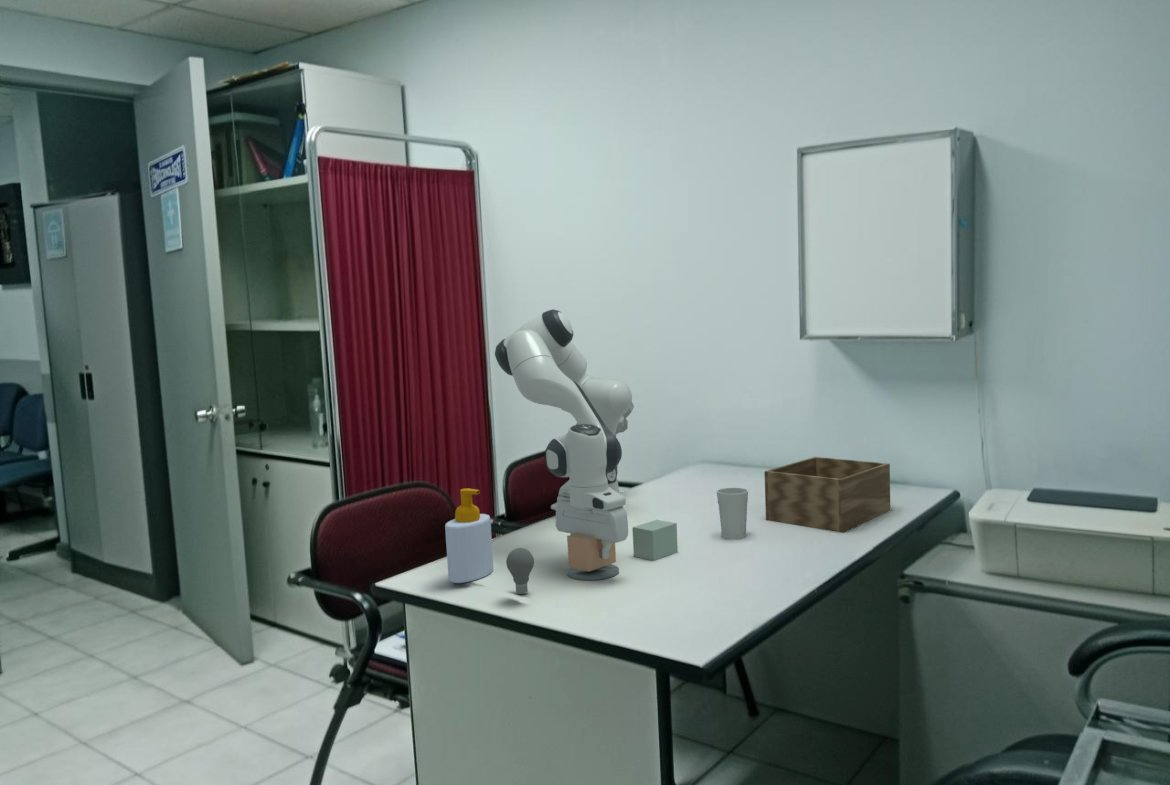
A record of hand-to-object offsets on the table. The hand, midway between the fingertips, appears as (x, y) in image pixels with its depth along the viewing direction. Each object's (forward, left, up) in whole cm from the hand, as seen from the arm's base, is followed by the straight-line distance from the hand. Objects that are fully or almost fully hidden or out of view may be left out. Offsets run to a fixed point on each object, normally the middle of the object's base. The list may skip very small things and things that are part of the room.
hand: (592, 555), depth 211 cm
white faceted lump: (-44, +53, -4) cm, 69 cm away
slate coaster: (0, 0, -4) cm, 4 cm away
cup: (+8, +44, -4) cm, 45 cm away
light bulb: (-2, -20, -4) cm, 21 cm away
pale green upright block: (+2, +20, -4) cm, 21 cm away
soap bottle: (-22, -18, -4) cm, 29 cm away
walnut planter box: (+18, +74, -4) cm, 76 cm away
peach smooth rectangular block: (0, 0, -2) cm, 2 cm away
